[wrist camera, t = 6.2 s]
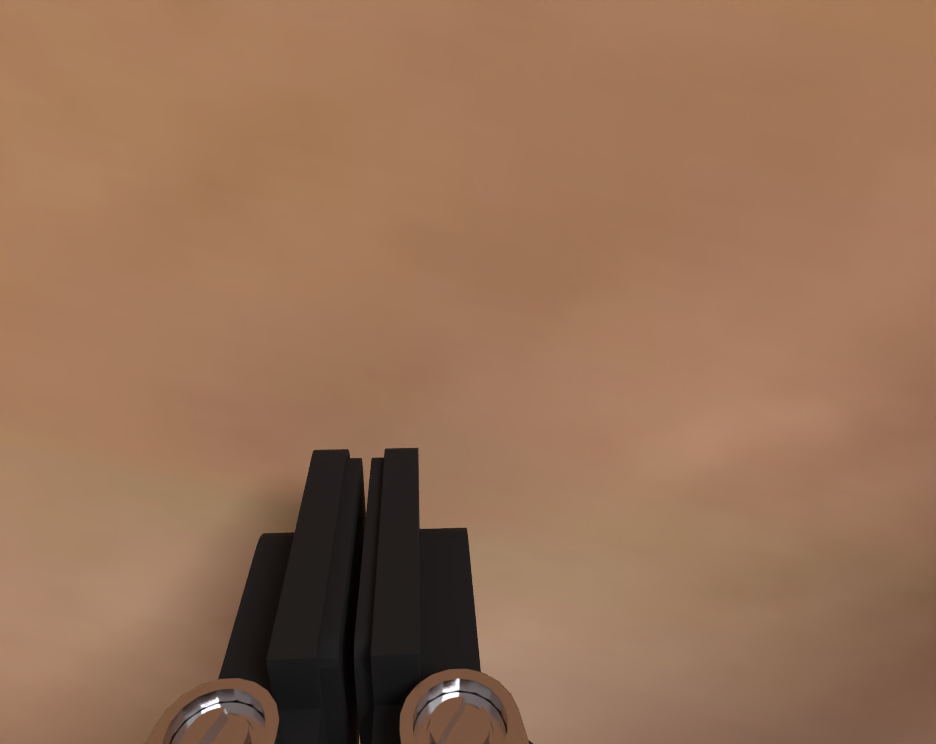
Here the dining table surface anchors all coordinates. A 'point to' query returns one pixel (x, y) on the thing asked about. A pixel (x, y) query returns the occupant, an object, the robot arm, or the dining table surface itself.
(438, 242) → the dining table surface
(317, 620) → the robot arm
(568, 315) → the dining table surface
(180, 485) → the dining table surface
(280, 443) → the dining table surface
